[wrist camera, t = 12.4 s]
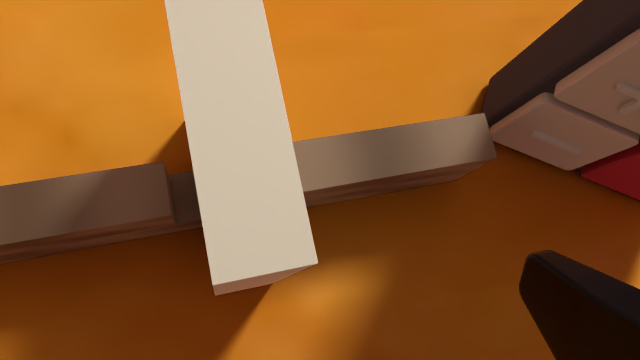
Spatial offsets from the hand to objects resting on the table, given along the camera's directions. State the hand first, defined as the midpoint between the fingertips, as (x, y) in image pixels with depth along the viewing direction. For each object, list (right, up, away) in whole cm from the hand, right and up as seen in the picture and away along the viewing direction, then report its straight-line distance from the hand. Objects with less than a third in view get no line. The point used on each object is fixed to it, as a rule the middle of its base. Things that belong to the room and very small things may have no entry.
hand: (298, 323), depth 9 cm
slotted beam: (-4, +2, +14) cm, 14 cm away
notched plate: (-4, +2, +14) cm, 14 cm away
